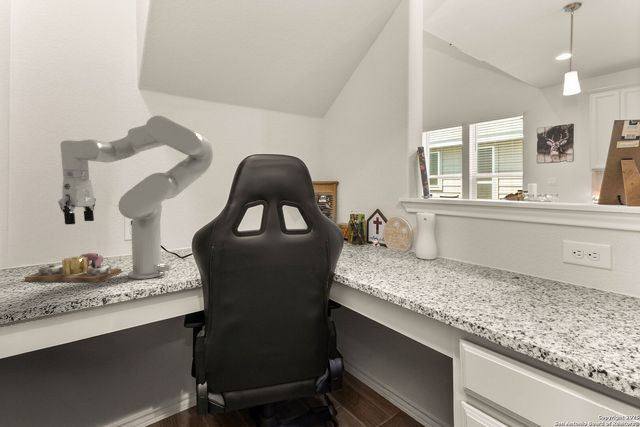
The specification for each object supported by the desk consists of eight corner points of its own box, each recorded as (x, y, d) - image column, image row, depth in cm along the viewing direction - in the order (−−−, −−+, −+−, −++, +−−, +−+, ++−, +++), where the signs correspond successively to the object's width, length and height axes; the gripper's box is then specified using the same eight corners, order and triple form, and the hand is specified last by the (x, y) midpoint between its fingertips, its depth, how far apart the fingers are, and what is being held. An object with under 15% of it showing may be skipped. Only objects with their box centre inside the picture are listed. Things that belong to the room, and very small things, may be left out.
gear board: (121, 272, 122) (120, 256, 122) (100, 282, 111) (99, 263, 110) (53, 271, 122) (52, 255, 122) (25, 281, 110) (23, 262, 110)
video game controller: (102, 271, 129) (107, 254, 132) (93, 269, 125) (99, 251, 128) (79, 270, 130) (84, 253, 133) (70, 268, 126) (76, 251, 128)
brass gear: (92, 269, 120) (92, 256, 119) (78, 275, 113) (77, 260, 112) (73, 269, 120) (72, 256, 119) (57, 274, 113) (56, 260, 112)
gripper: (69, 174, 106) (73, 225, 108) (102, 176, 124) (105, 219, 125) (45, 175, 106) (50, 225, 108) (82, 176, 123) (86, 220, 125)
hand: (80, 222), depth 116 cm, fingers open, 9 cm apart
